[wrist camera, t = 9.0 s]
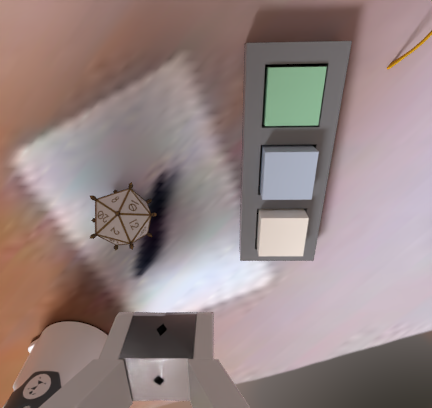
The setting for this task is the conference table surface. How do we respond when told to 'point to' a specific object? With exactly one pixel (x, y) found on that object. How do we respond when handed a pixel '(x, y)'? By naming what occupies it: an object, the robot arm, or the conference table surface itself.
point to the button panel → (287, 135)
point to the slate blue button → (288, 172)
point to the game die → (122, 217)
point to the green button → (293, 95)
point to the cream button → (281, 232)
